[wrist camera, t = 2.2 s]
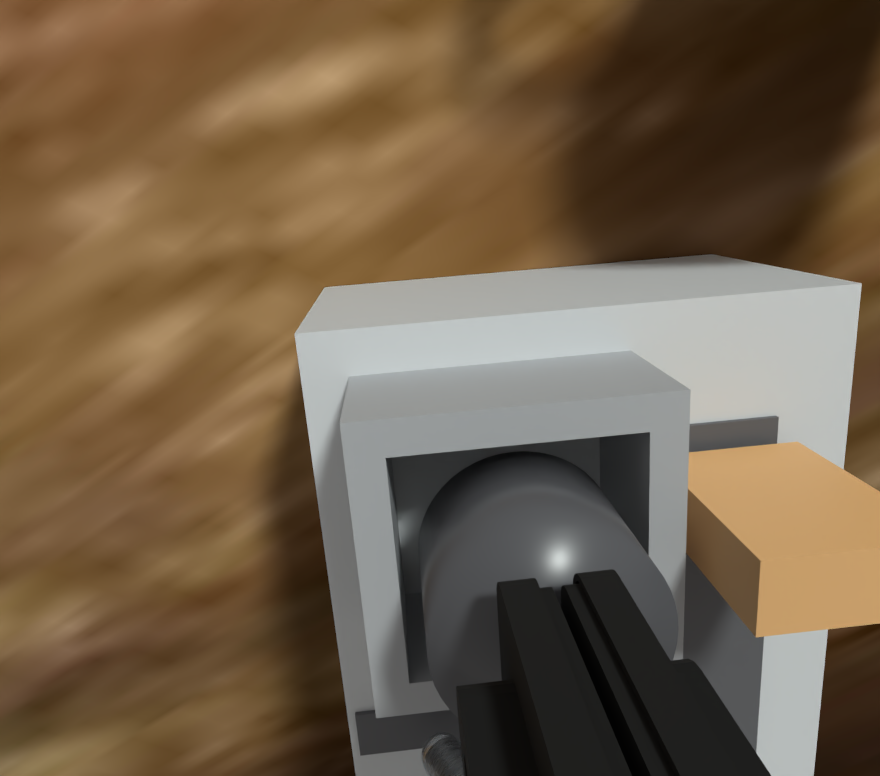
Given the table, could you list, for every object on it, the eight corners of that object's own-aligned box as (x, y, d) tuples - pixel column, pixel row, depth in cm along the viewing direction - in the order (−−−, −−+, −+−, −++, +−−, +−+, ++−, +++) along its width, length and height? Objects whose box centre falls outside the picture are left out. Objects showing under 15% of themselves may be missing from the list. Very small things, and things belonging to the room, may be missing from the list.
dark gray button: (614, 441, 13) (681, 515, 10) (615, 618, 14) (676, 732, 11) (409, 462, 12) (416, 542, 10) (426, 640, 14) (436, 761, 11)
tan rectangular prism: (797, 441, 15) (957, 539, 11) (793, 499, 15) (945, 615, 11) (654, 456, 15) (760, 560, 11) (654, 513, 15) (755, 637, 11)
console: (712, 254, 21) (978, 305, 12) (693, 769, 27) (863, 1089, 17) (324, 287, 21) (270, 371, 11) (388, 806, 26) (389, 1159, 17)
